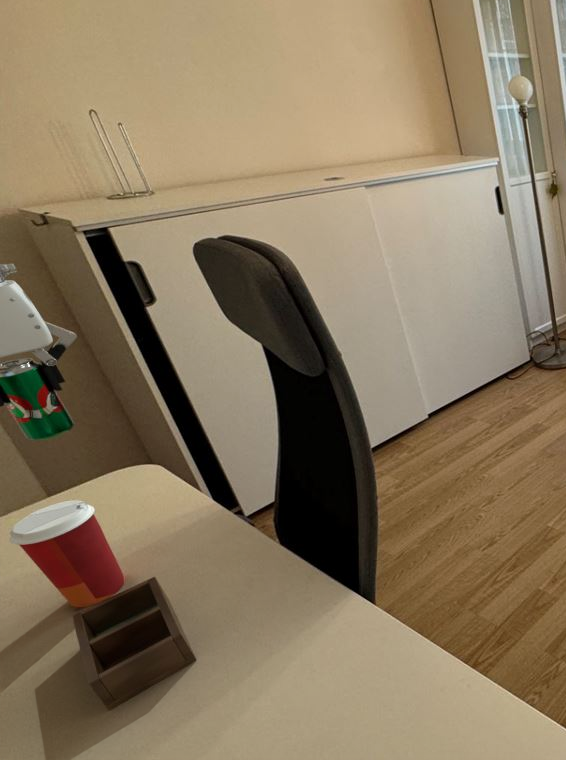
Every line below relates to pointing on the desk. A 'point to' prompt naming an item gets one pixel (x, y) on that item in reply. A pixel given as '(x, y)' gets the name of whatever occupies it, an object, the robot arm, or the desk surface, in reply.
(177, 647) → the brown wooden divided box
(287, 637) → the desk surface
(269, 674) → the desk surface
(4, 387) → the soda can
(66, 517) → the paper cup
